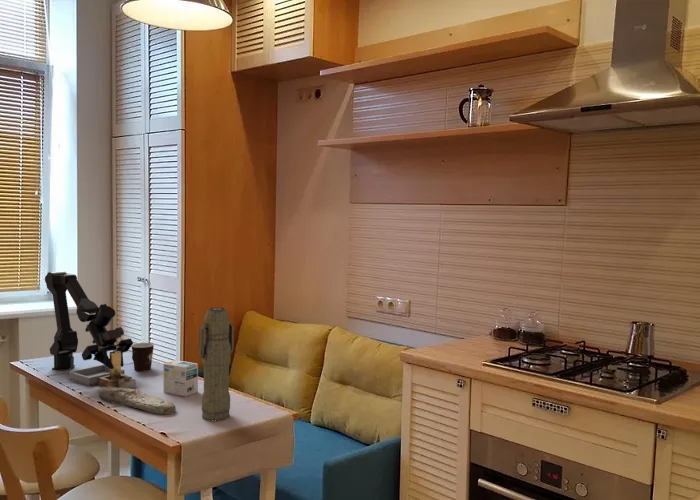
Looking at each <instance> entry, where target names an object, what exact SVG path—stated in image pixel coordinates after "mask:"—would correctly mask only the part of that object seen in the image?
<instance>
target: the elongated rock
mask: <svg viewBox="0 0 700 500" xmlns="http://www.w3.org/2000/svg"><path fill="white" fill-rule="evenodd" d="M98 396H99V397H100V398H101V399H102V398H103V399H104V400H105V401H108V402H111V404H116V405H118V404H119V405H122V406H128V407H129V406H130V407H131V408H134V409H140V410H142V411H145V412H148V413H150V414H159V415H170V414H171V413H172V414H174V413H175V412H176V409H177V408H176V405H175V404H174V403H173V402H172V401H169V400H165V399H162V398H160V397H157V396H153V395H148V394H147V393H144V392H142V391H141V390H139V389H136V388H134V389H130V388H120V387H111V386H110V387H105V386H102V387H100V388H99V389H98Z"/></svg>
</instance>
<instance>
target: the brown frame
mask: <svg viewBox="0 0 700 500" xmlns="http://www.w3.org/2000/svg"><path fill="white" fill-rule="evenodd" d="M98 385H100V386H102V387H110V386H111V387H120V388H130V389H136V388H137V380H136V379H135V378H133V376H129V375H126V374H124V375H123V374H121V379H118V380H114V381H113V380H110V375H108V376H104V377H100V378H99V384H98Z"/></svg>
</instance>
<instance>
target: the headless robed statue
mask: <svg viewBox="0 0 700 500" xmlns="http://www.w3.org/2000/svg"><path fill="white" fill-rule="evenodd" d="M198 331H199V333H198V334H199V335H198V353H199V354H198V355H199V358H201V359H202V360H201V361H202V362H201V363H202V365H203V393H202V395H201V412H202V413H201V417H202V420H204V419H205V420H204V421H207V420H210V421H209V422H218V421H217V420H221V421H224V420H223V419H225V420H227V419H229V418H230V410H231V393H230V392H229V391H230V390H229V388H230V386H229V384H230V364H231V361H232V360H231V357H232V353H234V350H235V349H234V348H235V345H234V344H235V339H234V338H235V326H234V324H233V323H232V322H230V317H229V312H228V310H227V309H226V308H224V307H210V308H209V309H207V311H206V313H205V316H204V323H202V324H201V325H200V328H199V329H198ZM228 417H229V418H228ZM226 418H227V419H226ZM212 420H213V421H212ZM215 420H216V421H215Z"/></svg>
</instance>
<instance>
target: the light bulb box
mask: <svg viewBox="0 0 700 500" xmlns="http://www.w3.org/2000/svg"><path fill="white" fill-rule="evenodd" d="M198 377H199V364H198V362H191V361H183V360H177V359H174V360H171V361H167V362H164V363H163V393H167V394H172V395H177V396H181V397H188V396H191V395H193V394H196V393H198V392H199V378H198Z"/></svg>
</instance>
